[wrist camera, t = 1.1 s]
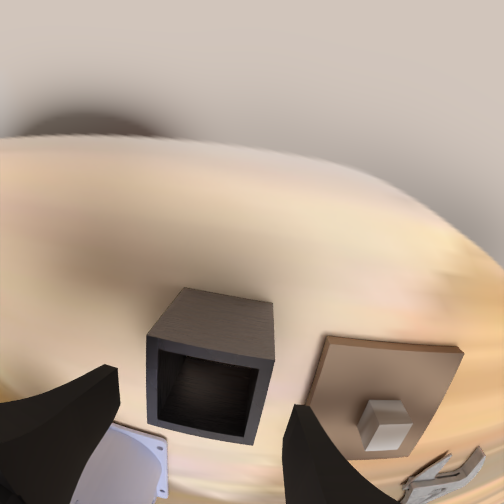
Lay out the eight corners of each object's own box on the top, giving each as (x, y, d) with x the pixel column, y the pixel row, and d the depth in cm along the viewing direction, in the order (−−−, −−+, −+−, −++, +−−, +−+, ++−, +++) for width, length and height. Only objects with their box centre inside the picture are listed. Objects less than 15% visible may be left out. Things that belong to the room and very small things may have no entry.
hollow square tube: (257, 376, 18) (253, 445, 12) (178, 361, 18) (147, 423, 12) (272, 303, 17) (274, 360, 11) (184, 287, 17) (146, 334, 11)
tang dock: (404, 448, 19) (417, 477, 16) (288, 448, 19) (290, 483, 16) (457, 346, 17) (482, 371, 14) (326, 335, 17) (338, 367, 14)
